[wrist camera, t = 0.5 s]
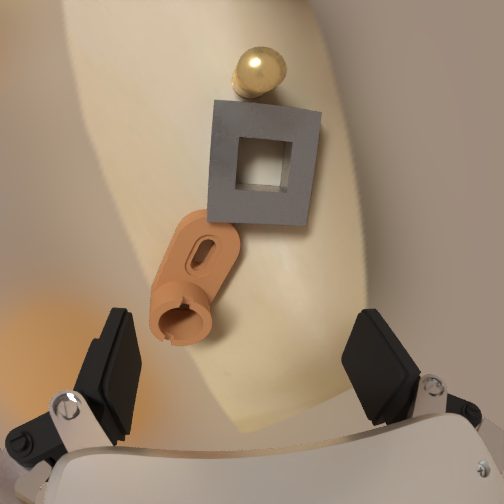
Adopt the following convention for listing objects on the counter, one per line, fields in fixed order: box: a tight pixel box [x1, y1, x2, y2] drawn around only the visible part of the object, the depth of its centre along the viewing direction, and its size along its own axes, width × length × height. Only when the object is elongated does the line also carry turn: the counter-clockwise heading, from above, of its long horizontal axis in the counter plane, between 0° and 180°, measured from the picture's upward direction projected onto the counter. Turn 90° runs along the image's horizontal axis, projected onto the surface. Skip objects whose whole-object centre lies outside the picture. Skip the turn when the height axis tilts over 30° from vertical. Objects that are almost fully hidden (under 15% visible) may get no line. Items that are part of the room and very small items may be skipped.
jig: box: [207, 100, 322, 226], centre depth 32 cm, size 14×12×4 cm
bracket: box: [149, 209, 240, 346], centre depth 37 cm, size 18×8×7 cm, turn 151°
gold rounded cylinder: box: [232, 47, 286, 98], centre depth 25 cm, size 4×4×9 cm
